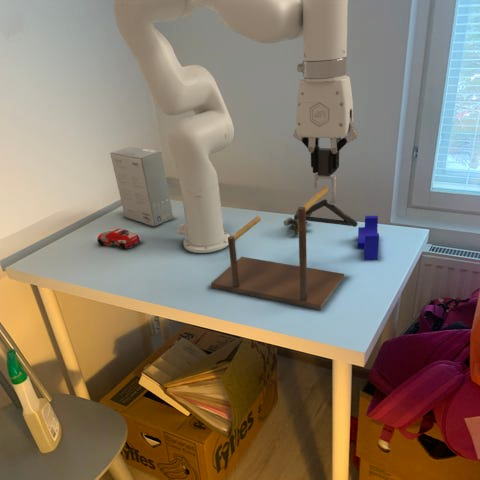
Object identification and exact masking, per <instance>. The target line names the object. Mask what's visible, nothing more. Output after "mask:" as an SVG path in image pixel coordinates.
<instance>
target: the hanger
mask: <svg viewBox="0 0 480 480" xmlns="http://www.w3.org/2000/svg"><path fill="white" fill-rule="evenodd" d="M330 153H331V147H330V148H329V147H328V148H327V147H320V149H318V150H317V161H318V172H317V173H314V175H313V188H314V189H318V188H319V179H324V180H331V200H327V199H325V198H324V199H322V200H319V201H317V202H316V203H315V204H314V205H313V206H312V207H311V208H310V209H309V210H307V211H306V215H308V214H310V213H312V214H313V212H315V211H317V210H319V209H321V208H323V207H326V209H328V210H330V211H331V212H332V213H334V214H335V215H337V216H338V217H339V218H340V219H337V218H329V217H328V218H327V217H319V216H312V215H311V216H306V222H313V223H323V224H331V225H339V226H348V227H354V228H356V227H357V226H358V222H357V221H356V220H355V219H353V218H352V217H351V216H350V215H348V213H346V212H344V211H343V210H342V209H340V208H339V207H337V206H336V201H337V198H336V197H337V195H336V194H337V176H336V175H335V174H329V173H328V155H329V154H330ZM293 219H295V220H298V214H296V213H295V215H294V216H293Z"/></svg>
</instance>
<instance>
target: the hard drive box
mask: <svg viewBox="0 0 480 480" xmlns="http://www.w3.org/2000/svg"><path fill="white" fill-rule="evenodd" d="M162 153H163V152H162V151H160V150H155V149H148V148H140V147H135V146H134V147H133V146H128V147H124V148H121V149H118V150H114V151H110V153H109V154H110V159H111V162H112V163H111V164H112V166H113V172H114V176H115V179H116V184H117V188H118V193H119V197H120V201H121V205H122V210H123V214H124V217H125V218H128V219H130V220H133V221H136V222H140V223H142V224H144V225H148V226H152V227H156V226H159V225H162V224H163V223H166V222H168V221H170V220H173V219H174V215H173V210H172V204H171V197H170V192H169V187H168V181H167V176H166V171H165V165H164V159H163V154H162Z"/></svg>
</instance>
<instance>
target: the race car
mask: <svg viewBox="0 0 480 480" xmlns="http://www.w3.org/2000/svg"><path fill="white" fill-rule="evenodd" d="M96 240H97V243H98V245H100V246H109V247H115V248H120V249H121V250H125V249H131V248H133V247H135V246H136V245H138V244H140V243H141V238H140V236H139V234H137V233H136V232H133V231H131V230H128V229H125V228H116V229H114V230H106V231H104V232H100V233H99V234H98V236H97V239H96Z"/></svg>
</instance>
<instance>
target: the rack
mask: <svg viewBox="0 0 480 480" xmlns="http://www.w3.org/2000/svg"><path fill="white" fill-rule="evenodd" d="M329 189H330V188H329V187H327V186H324V187H322V189H320V190H319V191H318V192H317V193H316V194H315V195H313V196H312V197H311V198H310V199H309V200H308V201H307V202H306V203H304V204H302V206H299V207H297V210H298V230H299V231H298V259H299V261H298V262H299V264H298V265H296V264H295V265H293V264H289V263H288V264H287V263H283V262H276V261H271V260H264V259H258V258H251V257H245V256H241V257H240V258H237V248H236V241H237V240H238V239H239V238H241V237H242V236H243V235H244V234H246V233H247V232H248V231H250V229H252V228H253V227H254V226H256V225H257V224H258V223H259V222H261V221H262V220H261V216H255V217H254V218H253V219H252V220H250V221H249V222H247V224H245V225H244V226H243V227H241V228H240V229H239V230H238V231H236V232H235V233H234V234H232V235H230V237H228V252H229V263H230V266H229V267H228V268H226V270H225V271H223V273H221V274H220V275H219V276H218V277H217V278H215V279H214V280H213V281H212V282H211V283H210V286H211V288H212V289H215V290H221V291H225V292H226V291H227V292H230V293H231V292H232V293H236V294H240V295H244V296H245V295H246V296H250V297H256V298H260V299H265V300H270V301H274V302H279V303H284V304H289V305H294V306H299V307H303V308H309V309H313V310H317V311H321V310H322V309H323V307H325V305H326V304H327V303H328V301H329V300H330V298H331V297H332V295H334V293H335V292H336V290H337V289H338V288H339V286H340V285H341V283H343V281H344V280H345V273H342V272H335V271H331V270H325V269H318V268H312V267H308V266H307V265H308V262H307V261H308V259H307V258H308V257H307V254H308V253H307V231H306V228H307V224H306V222H307V221H306V211H307V210H309V209H310V208H311V207H312V206H313V205H315V204H317V203H318V202H320V201H321V199H322V198H323V197H325V195H327V194H328V192H329Z"/></svg>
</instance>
